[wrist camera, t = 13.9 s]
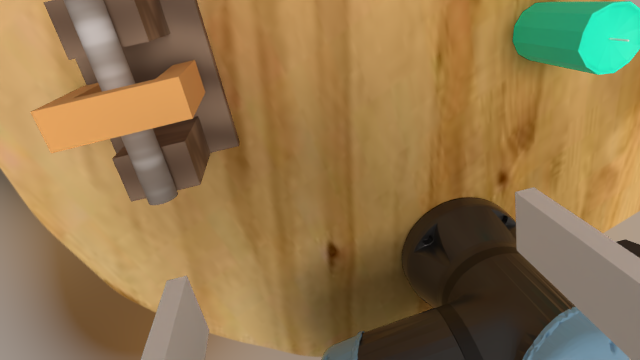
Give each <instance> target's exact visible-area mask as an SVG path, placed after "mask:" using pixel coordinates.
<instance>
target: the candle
mask: <svg viewBox="0 0 640 360" xmlns="http://www.w3.org/2000/svg"><path fill="white" fill-rule="evenodd" d="M513 43H514V46H515V48H516V50H517V53H518V54H519V55H521V56H523V57H524V58H526V59H528V60H531V61H536V62H540V63H545V64H550V65H555V66H559V67H564V68H569V69H574V70H579V71H583V72H588V73H593V74H598V75H599V74H609V73H615V72H616V71H618V70H619V69H620V68H622V67H623V66H625V65H626V64H628V63H629V62H630V61H631V59H632V58H633V57H634V56H635V54H636V53H637V52H638V51H639V49H640V8H639V7H637V6H636V5H635V4H633V3H632V2H630V1H629V2H627V1H617V2H541V3H535V4H534V5H532V6H531V7H529V8H528V9H526V10H525V11H523V12H522V14H521V16H520V17H519V19H518V21H517V22H516V24H515V26H514V34H513Z"/></svg>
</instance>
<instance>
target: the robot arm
mask: <svg viewBox="0 0 640 360" xmlns="http://www.w3.org/2000/svg"><path fill="white" fill-rule="evenodd" d="M515 202H516V222H515V221H514V219H513V218H512V217H511V216H510V215H509V214H507V213H506V212H505V211H504V210H503V209H502V208H500V207H499V206H498V205H496V204H494V203H492V202H490V201H487V200H484V199H479V198H461V199H456V200H452V201H449V202H446V203H444V204H441V205H439V206H437V207H436V208H434V209H432V210H431V211H429V212H428V213H427V214H426V215H424V216H423V217H422V218H421V219H420V220H419V221H418V222H417V223H416V225H415V226H414V227H413V229H412V230H411V232H410V233H409V235H408V237H407V239H406V242H405V245H404V248H403V254H402V264H403V269H404V272H405V275H406V277H407V279H408V281H409V283H410V284H411V286H412V288H413V289H414V291H415V292H416V293H417V294H418V295H419V296H420V297H421V298H422V299H423V300H424V301H426V302H427V303H429V304H430V305H431V306H432V307H434V308H433V309H430V310H427V311H425V312H422V313H419V314H416V315H413V316H410V317H408V318H405V319H402V320H399V321H396V322H393V323H390V324H388V325H385V326H382V327H379V328H376V329H373V330H370V331H368V332H364V331H361V332H359V333H358V334H357V336H354V337H352V338H349V339H347V340H345V341H342V342H340V343H337V344H335V345H333V346H331V347H330V348H328V349H327V350H326V352H325V353H324V355H323V357H322V360H629V358H630V359H631V360H640V245H639V244H636V243H634V242H631V241H628V240H622V241H618V242H615V241H613V240H611V239H610V238H609V237H607V236H606V235H604V234H603V233H601V232H600V231H598V230H597V229H595V228H594V227H592V226H591V225H589V224H588V223H586V222H585V221H583V220H582V219H580V218H579V217H577V216H576V215H574V214H573V213H571V212H570V211H568V210H567V209H565V208H564V207H562V206H561V205H559V204H558V203H556V202H555V201H553V200H552V199H550V198H549V197H547V196H546V195H544V194H543V193H541V192H540V191H538V190H537V189H535V188H534V187H533V188H529V189H525V190H521V191H518V192H515ZM208 335H209V328H208V326H207V323H206V321H205V319H204V316H203V314H202V311H201V309H200V307H199V304H198V302H197V299H196V297H195V294H194V292H193V290H192V287H191V285H190V282H189V280H188V277H187V276H183V277H180V278H176V279H172V280H168V281H167V282H166V285H165V288H164V291H163V294H162V297H161V300H160V303H159V306H158V309H157V312H156V315H155V318H154V321H153V324H152V327H151V330H150V333H149V336H148V339H147V342H146V345H145V348H144V352H143V355H142V358H141V360H205V355H206V348H207V341H208Z"/></svg>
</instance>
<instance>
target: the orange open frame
mask: <svg viewBox="0 0 640 360" xmlns="http://www.w3.org/2000/svg"><path fill="white" fill-rule="evenodd" d="M204 94H205V90H204V87H203V83H202V80H201V77H200V74H199V71H198V68H197V65H196V62H195V60H192V61H188V62H184V63H179V64H175V65H172V66H171V67H170V68H169V69H167V70H166V71H165V72H163V73H162V74H161V75H160V76H158V77H157V78H156V79H153V80H149V81H145V82H141V83H136V84H132V85H128V86H124V87H120V88H115V89H111V90H107V91H103V92H102V91H101V88H100V86H99V84H98V83H95V84H90V85H86V86H83V87H81V88H79V89H77V90H74V91H72V92H70V93H68V94H66V95H64V96H62V97H60V98H58V99H56V100H54V101H52V102H50V103H48V104H46V105H44V106H42V107H40V108H38V109H36V110H33V111H31V114H32V116H33V118H34V120H35V122H36V124H37V126H38V128H39V130H40V132H41V134H42V136H43V138H44V140H45V142H46V144H47V146H48V148H49V150H50V152H51V153H54V152H58V151H62V150H66V149H71V148H75V147H79V146H83V145H87V144H91V143H95V142H99V141H103V140H107V139H111V138H115V137H119V136H124V135H128V134H132V133H136V132H140V131H144V130H148V129H152V128H156V127H160V126H164V125H168V124H173V123H177V122H181V121H185V120H189V119H193V117H194V115H195V113H196V111H197V109H198V107H199V105H200V103H201V101H202V98H203V96H204Z"/></svg>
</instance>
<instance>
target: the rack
mask: <svg viewBox="0 0 640 360" xmlns="http://www.w3.org/2000/svg"><path fill="white" fill-rule="evenodd" d="M44 4H45V7H46V9H47V11H48V14H49V16H50V18H51V20H52V23H53V25H54V27H55V29H56V32H57V34H58V36H59V39H60V41H61V43H62V45H63V48H64V50H65V52H66V54H67V57H68V59H69V60H71V59H76V61H77V63H78V66H79V68H80V70H81V73H82V75H83V77H84V80H85V82H86V84H87V85H90V84H95V83H98V84H99V86H100V88H101V91H102V92H103V91H107V90H111V89H115V88H120V87H124V86H128V85H132V84H136V83H141V82H145V81H149V80H153V79H156V78H157V77H158V76H160V75H161V74H162V73H163V72H165V71H166V70H167V69H169V68H170V67H171V66H172V65H175V64H179V63H184V62H188V61H192V60H195V62H196V65H197V68H198V71H199V74H200V77H201V80H202V83H203V87H204V90H205V94H204V96H203V98H202V101H201V103H200V105H199V107H198V109H197V111H196V113H195V115H194V117H193V119H189V120H185V121H181V122H177V123H173V124H168V125H164V126H160V127H156V128H152V129H148V130H144V131H140V132H136V133H132V134H128V135H124V136H119V137H115V138H111V139H110V140H111V142H112V144H113V147H114V149H115V151H116V155H115V156H114V158H113V161H114V164H115V166H116V168H117V170H118V173H119V175H120V177H121V180H122V182H123V184H124V186H125V189H126V191H127V193H128V195H129V198H130V200H131V202H132V201H136V200H140V199H144V198H147V200H148V202H149V204H150V205H159V204H163V203H166V202H168V201H170V200H172V199H174V198H175V197H176V196H177V195H178V192H177V190H181V189H185V188H189V187H193V186H197V185H200V184H201V181H202V178H203V175H204V172H205V168H206V165H207V162H208V159H209V156H210V153H212V152H216V151H220V150H224V149H228V148H232V147H236V146H239V139H238V136H237V132H236V129H235V126H234V122H233V119H232V116H231V112H230V109H229V106H228V103H227V99H226V96H225V93H224V89H223V86H222V83H221V79H220V76H219V73H218V69H217V66H216V63H215V60H214V56H213V53H212V50H211V46H210V43H209V40H208V36H207V33H206V30H205V27H204V23H203V20H202V17H201V13H200V10H199V7H198V3H197V0H52V1H48V2H44Z"/></svg>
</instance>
